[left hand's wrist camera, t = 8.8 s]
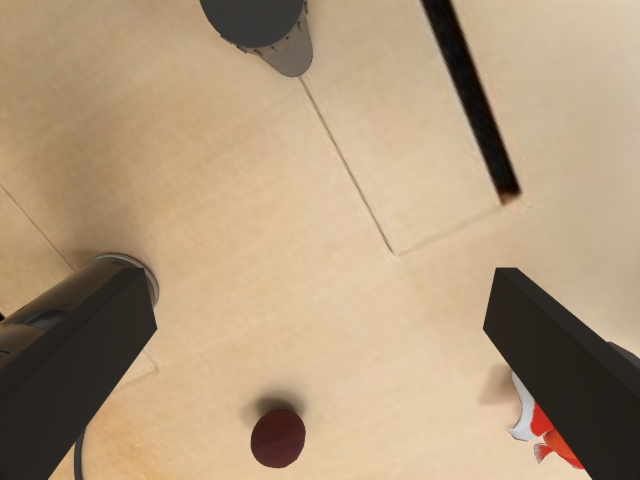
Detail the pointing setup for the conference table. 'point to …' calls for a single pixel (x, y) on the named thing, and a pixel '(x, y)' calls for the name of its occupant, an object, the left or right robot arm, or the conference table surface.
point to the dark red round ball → (278, 438)
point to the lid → (257, 23)
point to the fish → (539, 428)
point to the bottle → (293, 56)
